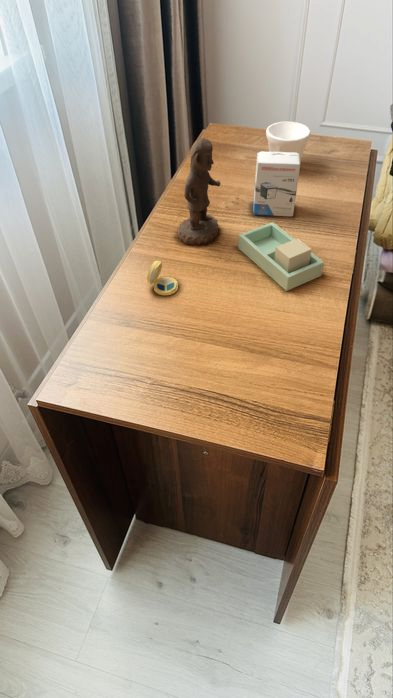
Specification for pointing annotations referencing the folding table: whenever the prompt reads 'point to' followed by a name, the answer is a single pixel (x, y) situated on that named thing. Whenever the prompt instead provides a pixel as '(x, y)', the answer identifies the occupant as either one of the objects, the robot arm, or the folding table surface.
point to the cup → (288, 137)
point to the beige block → (292, 255)
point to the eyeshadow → (161, 280)
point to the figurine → (199, 197)
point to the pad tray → (262, 252)
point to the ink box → (276, 183)
